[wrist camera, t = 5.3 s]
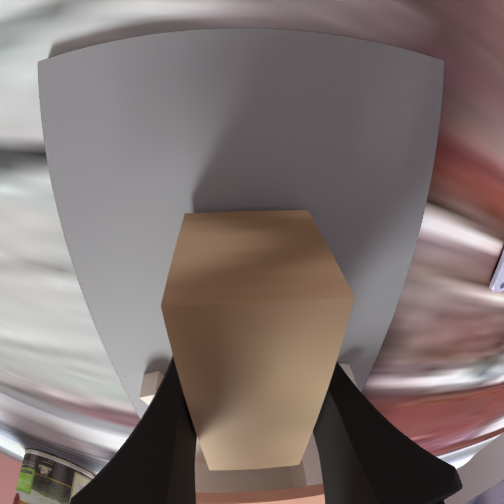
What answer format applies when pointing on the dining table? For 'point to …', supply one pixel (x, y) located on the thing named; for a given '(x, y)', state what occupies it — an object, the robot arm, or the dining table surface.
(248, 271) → the tan cardboard block
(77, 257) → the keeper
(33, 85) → the dining table surface
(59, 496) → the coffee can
